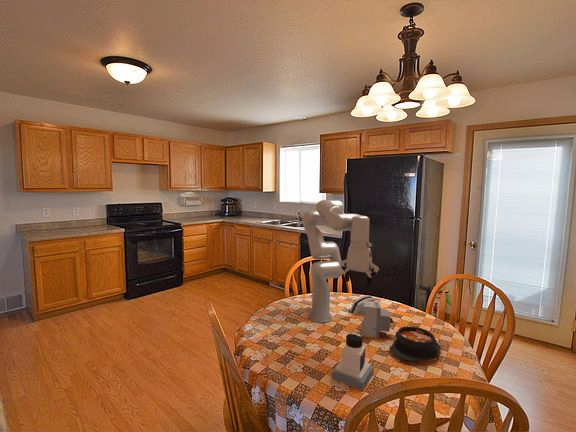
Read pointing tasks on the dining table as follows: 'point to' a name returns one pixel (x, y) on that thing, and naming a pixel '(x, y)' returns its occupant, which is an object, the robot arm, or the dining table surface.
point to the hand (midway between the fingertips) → (358, 283)
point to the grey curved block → (360, 304)
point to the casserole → (415, 344)
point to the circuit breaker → (374, 319)
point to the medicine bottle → (353, 353)
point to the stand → (353, 375)
